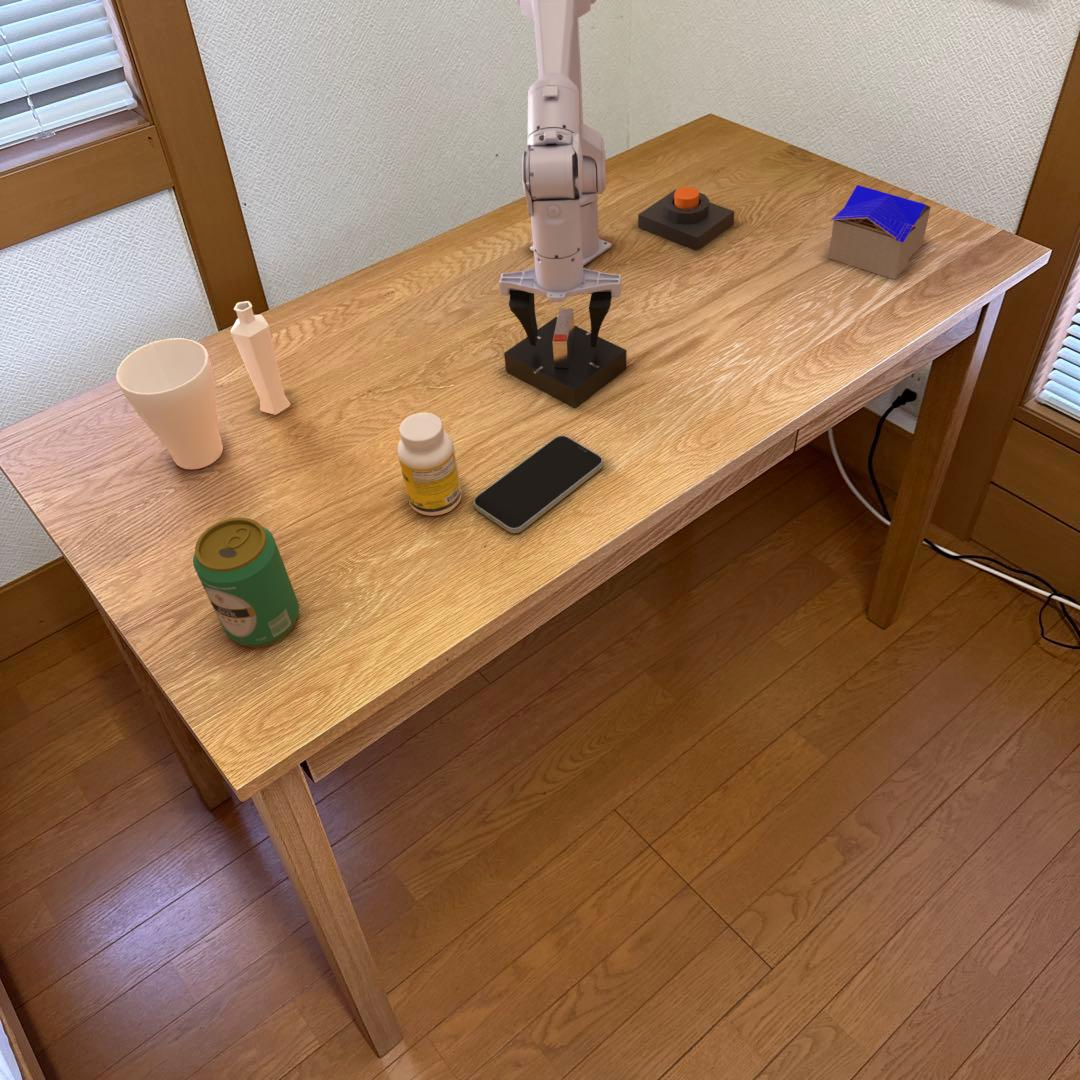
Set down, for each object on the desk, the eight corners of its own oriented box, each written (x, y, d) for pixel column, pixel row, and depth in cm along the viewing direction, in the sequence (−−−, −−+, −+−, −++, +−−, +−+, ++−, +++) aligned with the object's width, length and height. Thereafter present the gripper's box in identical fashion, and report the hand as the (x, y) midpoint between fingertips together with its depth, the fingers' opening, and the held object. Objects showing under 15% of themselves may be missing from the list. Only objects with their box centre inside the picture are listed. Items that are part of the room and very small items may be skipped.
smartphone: (469, 501, 118) (560, 432, 125) (470, 506, 119) (561, 438, 126) (514, 532, 114) (606, 459, 121) (515, 537, 115) (607, 465, 122)
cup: (167, 494, 124) (126, 406, 114) (147, 444, 131) (107, 356, 121) (251, 462, 127) (219, 373, 117) (228, 415, 133) (195, 327, 124)
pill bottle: (412, 481, 123) (395, 408, 115) (464, 479, 122) (451, 406, 114) (405, 519, 118) (388, 446, 110) (460, 517, 118) (446, 444, 110)
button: (669, 205, 154) (669, 194, 153) (684, 195, 156) (684, 184, 154) (688, 212, 152) (689, 201, 151) (703, 202, 154) (704, 191, 153)
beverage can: (210, 640, 108) (172, 563, 99) (251, 584, 113) (218, 506, 104) (276, 659, 106) (243, 582, 97) (315, 601, 111) (286, 522, 102)
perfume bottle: (300, 397, 135) (270, 298, 124) (281, 418, 132) (248, 319, 121) (271, 390, 136) (239, 291, 125) (251, 410, 134) (217, 311, 123)
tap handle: (561, 334, 135) (559, 306, 132) (574, 334, 135) (573, 307, 132) (554, 368, 130) (552, 340, 127) (568, 368, 130) (566, 340, 127)
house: (895, 281, 143) (906, 229, 137) (825, 258, 148) (832, 207, 142) (929, 246, 148) (940, 194, 143) (860, 225, 153) (868, 174, 148)
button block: (638, 227, 157) (638, 203, 154) (675, 202, 161) (675, 178, 159) (697, 251, 152) (698, 226, 149) (733, 224, 156) (735, 199, 153)
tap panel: (502, 374, 135) (500, 354, 133) (560, 332, 140) (559, 313, 138) (572, 410, 129) (570, 390, 127) (629, 366, 134) (629, 346, 132)
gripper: (490, 263, 120) (502, 359, 130) (617, 265, 118) (618, 362, 128) (500, 231, 125) (511, 325, 135) (622, 232, 123) (623, 328, 132)
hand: (564, 341), depth 131 cm, fingers open, 7 cm apart
